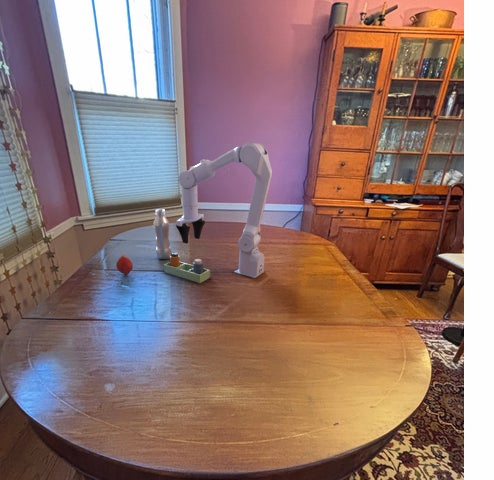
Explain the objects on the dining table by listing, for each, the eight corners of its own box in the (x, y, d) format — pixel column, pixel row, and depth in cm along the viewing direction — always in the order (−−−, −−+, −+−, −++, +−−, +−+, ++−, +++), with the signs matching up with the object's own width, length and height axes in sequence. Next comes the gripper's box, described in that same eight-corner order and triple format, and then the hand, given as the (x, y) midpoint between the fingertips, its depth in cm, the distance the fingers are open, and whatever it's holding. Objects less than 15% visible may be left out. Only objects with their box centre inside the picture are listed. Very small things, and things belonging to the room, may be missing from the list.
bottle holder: (210, 278, 112) (210, 269, 110) (200, 284, 107) (199, 275, 105) (174, 268, 119) (174, 259, 118) (164, 273, 115) (163, 264, 113)
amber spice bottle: (181, 270, 116) (181, 253, 112) (175, 273, 113) (174, 255, 110) (174, 268, 118) (173, 251, 114) (168, 271, 115) (167, 253, 111)
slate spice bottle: (205, 277, 111) (205, 259, 107) (199, 280, 108) (198, 262, 105) (197, 275, 113) (197, 257, 109) (191, 278, 110) (190, 260, 106)
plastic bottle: (173, 255, 132) (170, 208, 121) (169, 261, 126) (165, 212, 115) (159, 255, 132) (154, 208, 121) (154, 260, 126) (149, 211, 116)
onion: (114, 275, 112) (111, 255, 107) (125, 270, 116) (122, 250, 112) (126, 279, 109) (123, 258, 105) (137, 273, 114) (134, 253, 110)
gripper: (193, 201, 120) (194, 234, 127) (169, 206, 110) (171, 243, 117) (207, 203, 117) (208, 237, 124) (184, 209, 106) (185, 246, 114)
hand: (191, 240), depth 120 cm, fingers open, 7 cm apart
